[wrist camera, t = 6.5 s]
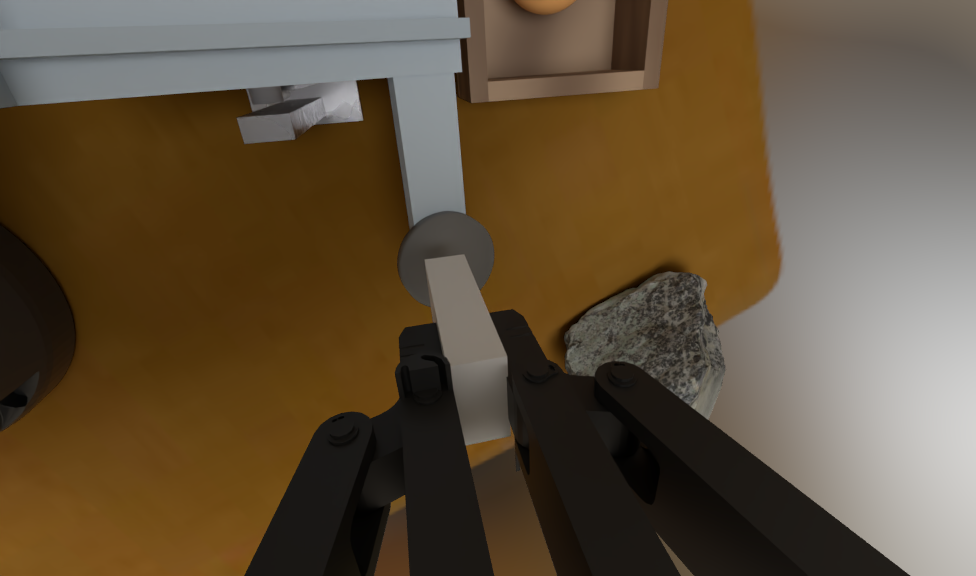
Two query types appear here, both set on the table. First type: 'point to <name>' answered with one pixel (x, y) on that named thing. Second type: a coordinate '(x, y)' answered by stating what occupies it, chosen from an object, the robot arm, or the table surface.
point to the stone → (655, 337)
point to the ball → (544, 5)
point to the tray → (560, 49)
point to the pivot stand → (301, 111)
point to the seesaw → (270, 80)
